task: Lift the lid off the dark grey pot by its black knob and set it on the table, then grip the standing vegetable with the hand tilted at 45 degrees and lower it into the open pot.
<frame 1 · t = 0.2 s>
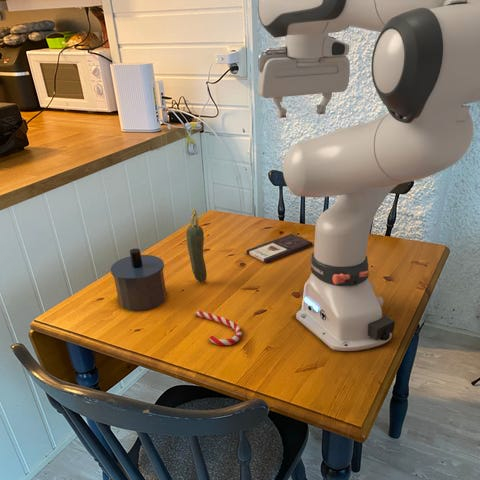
hand: (301, 115, 106), 39 cm above the table, tool pointing down, fingers open, 8 cm apart
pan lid: (137, 268, 112), point 8 cm above the table, touching dark grey pot
vegetable: (199, 284, 122), on the table
candy cane: (215, 329, 104), on the table
dark grey pot: (142, 298, 117), on the table
chocolate bar: (279, 249, 139), on the table
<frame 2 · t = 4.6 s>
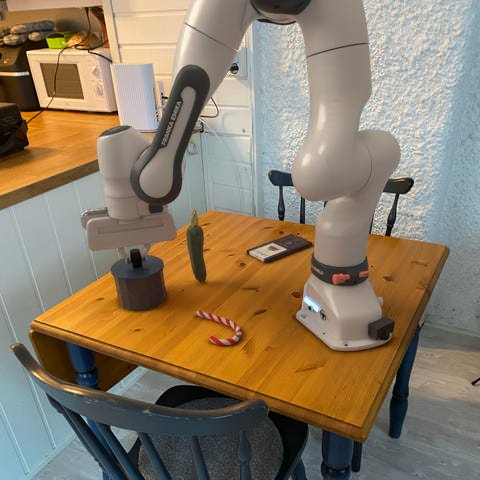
hand: (136, 261, 111), 10 cm above the table, tool pointing down, fingers closed on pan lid, 2 cm apart
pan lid: (137, 268, 112), point 9 cm above the table, touching gripper, dark grey pot
everything else where it was.
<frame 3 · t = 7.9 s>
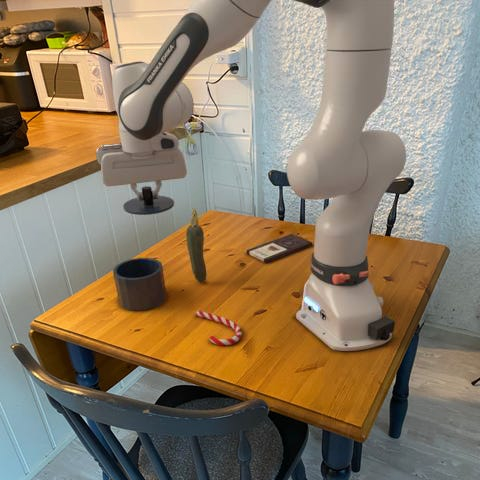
hand: (148, 199, 117), 21 cm above the table, tool pointing down, fingers closed on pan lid, 2 cm apart
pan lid: (149, 205, 117), point 19 cm above the table, touching gripper
everything else where it was.
when the fingers open (2 cm above the table, at t = 11.4 s): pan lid stays where it is, point 1 cm above the table.
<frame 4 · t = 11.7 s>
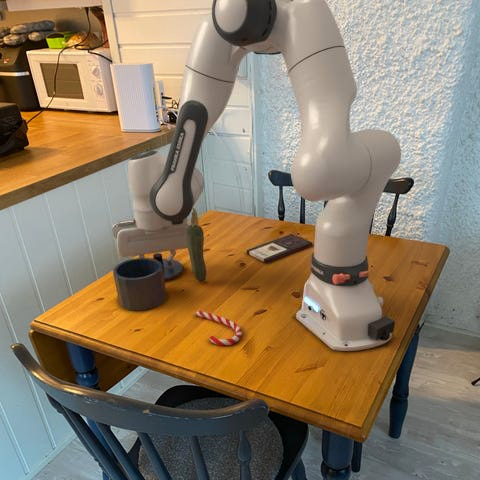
hand: (159, 266, 127), 2 cm above the table, tool pointing down, fingers open, 5 cm apart
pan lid: (159, 270, 128), point 1 cm above the table
everything else where it was.
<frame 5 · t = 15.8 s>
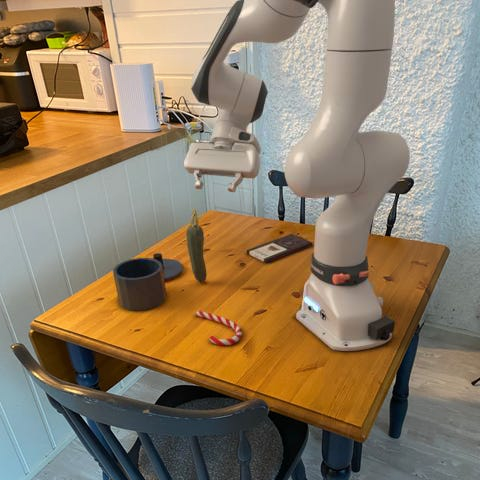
hand: (214, 189, 120), 21 cm above the table, tool tilted 45°, fingers open, 8 cm apart
nothing on the table moved.
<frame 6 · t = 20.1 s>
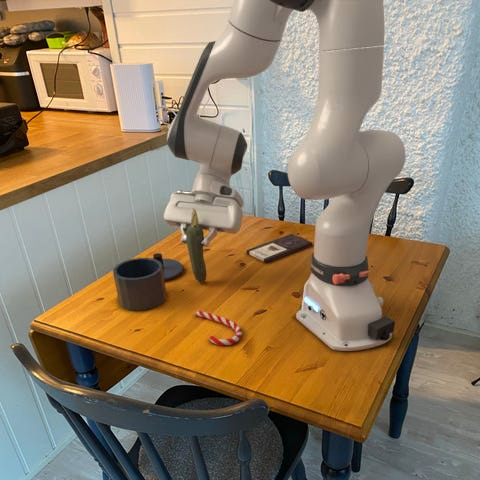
hand: (194, 244, 116), 11 cm above the table, tool tilted 45°, fingers closed on vegetable, 4 cm apart
vegetable: (199, 284, 122), on the table, touching gripper
everything else where it was.
when the fingers open (12 cm above the table, at t = 29.7 s): vegetable stays where it is, resting on dark grey pot.
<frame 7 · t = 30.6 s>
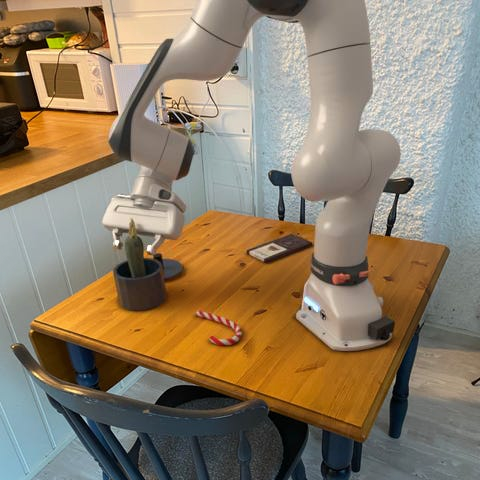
hand: (133, 251, 109), 13 cm above the table, tool tilted 45°, fingers open, 8 cm apart
vegetable: (142, 297, 117), resting on dark grey pot
everything else where it was.
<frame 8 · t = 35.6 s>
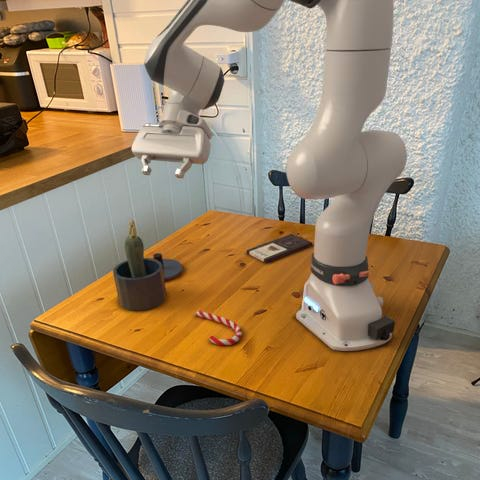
hand: (161, 175, 114), 26 cm above the table, tool tilted 45°, fingers open, 8 cm apart
nothing on the table moved.
at the end: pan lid inside the target area (0.2 cm from its centre), point 0.6 cm above the table; vegetable inside the target area in the dark grey pot (0.1 cm from its centre), point 0.3 cm above the dark grey pot's base; the gripper is holding nothing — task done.
